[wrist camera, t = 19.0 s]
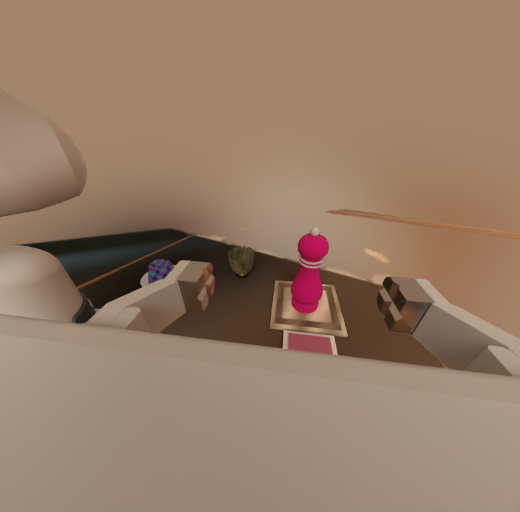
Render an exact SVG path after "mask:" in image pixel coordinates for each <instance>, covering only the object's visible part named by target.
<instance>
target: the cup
mask: <svg viewBox="0 0 520 512" xmlns="http://www.w3.org/2000/svg"><path fill="white" fill-rule="evenodd" d="M228 258H229V262H230V266H231V268H232V270H233V271H234V272H235V273H236V275H237V276H238V277H240V278H245V277H247V276H248V274H249V272H250V271H251V269H252V267H253V261H254V250H252V249H251V248H249V247H248V248H247V249H246V248H245V246H244V247H243V248H242V247H240V246H238V247H237V248H235V247H234V250H233V251H230V250H229V251H228Z"/></svg>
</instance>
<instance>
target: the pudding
mask: <svg viewBox="0 0 520 512" xmlns="http://www.w3.org/2000/svg"><path fill="white" fill-rule="evenodd" d="M175 266H176V265H172V263H171V262H170V261H169V260H165V259H160V260H155V261H154V262H152V263H150V265H149V266H148V272H147V273H146V274H145V275H144V276H143V277H142V279H141V282H140V283H141V285H142V287H145V286H147V285H149V283H153V282H156V281H158V280H160V279H165V278H166V276H167V275H168V274H169V273H170V272H171V271H172V270H173V269H174V267H175ZM148 282H149V283H148Z"/></svg>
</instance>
